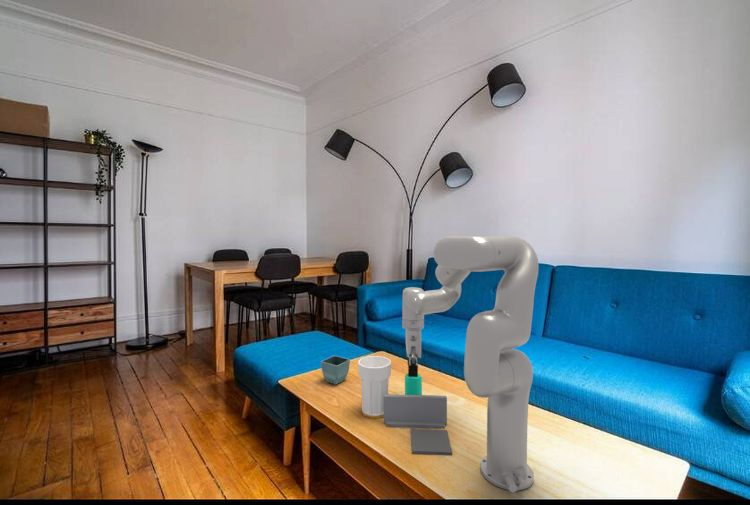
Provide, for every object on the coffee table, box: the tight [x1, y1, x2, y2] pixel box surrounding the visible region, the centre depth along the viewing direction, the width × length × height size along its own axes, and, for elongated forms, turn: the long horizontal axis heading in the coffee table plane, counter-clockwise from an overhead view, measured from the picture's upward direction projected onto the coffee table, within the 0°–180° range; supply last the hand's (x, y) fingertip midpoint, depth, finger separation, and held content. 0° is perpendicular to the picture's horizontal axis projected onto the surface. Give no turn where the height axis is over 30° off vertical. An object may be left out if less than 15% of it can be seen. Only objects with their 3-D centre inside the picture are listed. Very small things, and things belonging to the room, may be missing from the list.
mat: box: [410, 428, 453, 456], centre depth 102 cm, size 11×11×1 cm
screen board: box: [383, 393, 448, 430], centre depth 112 cm, size 5×20×9 cm, turn 86°
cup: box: [357, 355, 392, 419], centre depth 119 cm, size 11×11×17 cm
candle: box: [404, 373, 423, 395], centre depth 124 cm, size 6×6×12 cm
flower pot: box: [320, 355, 351, 385], centre depth 144 cm, size 9×9×9 cm
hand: (412, 370), depth 124 cm, fingers open, 9 cm apart
